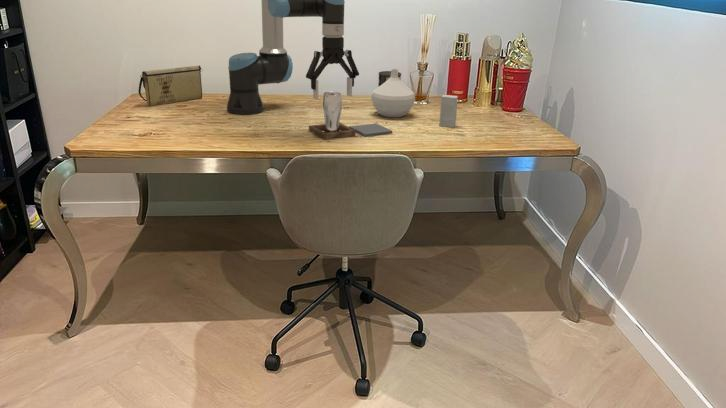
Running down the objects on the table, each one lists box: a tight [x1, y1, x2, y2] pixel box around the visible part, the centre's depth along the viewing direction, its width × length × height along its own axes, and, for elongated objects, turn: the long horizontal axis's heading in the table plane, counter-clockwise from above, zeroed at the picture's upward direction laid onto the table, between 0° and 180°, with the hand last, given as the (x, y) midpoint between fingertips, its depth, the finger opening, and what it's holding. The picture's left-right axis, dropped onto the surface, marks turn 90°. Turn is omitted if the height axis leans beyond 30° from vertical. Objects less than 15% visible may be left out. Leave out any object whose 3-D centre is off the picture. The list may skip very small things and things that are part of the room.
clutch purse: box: [138, 65, 203, 107], centre depth 241 cm, size 30×7×15 cm, turn 137°
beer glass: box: [322, 91, 343, 133], centre depth 201 cm, size 7×7×15 cm
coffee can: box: [377, 70, 402, 88], centre depth 251 cm, size 10×10×14 cm
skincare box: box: [439, 94, 459, 128], centre depth 218 cm, size 6×4×12 cm
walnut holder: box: [308, 121, 357, 141], centre depth 204 cm, size 13×13×2 cm
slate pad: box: [348, 123, 393, 138], centre depth 209 cm, size 12×12×1 cm
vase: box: [371, 68, 416, 118], centre depth 230 cm, size 18×18×19 cm
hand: (332, 97), depth 199 cm, fingers open, 13 cm apart
